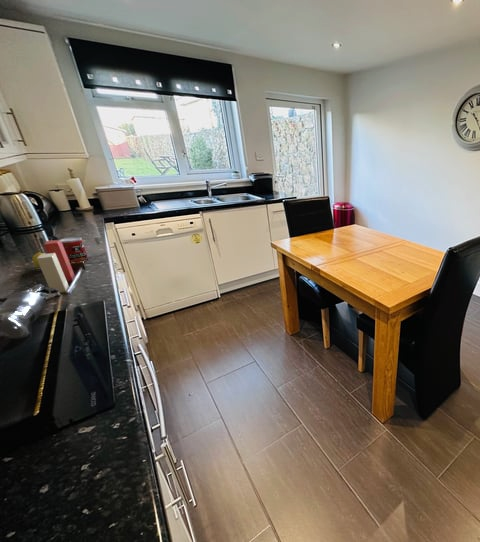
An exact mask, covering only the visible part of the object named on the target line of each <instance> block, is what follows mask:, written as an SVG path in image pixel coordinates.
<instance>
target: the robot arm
mask: <svg viewBox="0 0 480 542" xmlns="http://www.w3.org/2000/svg"><path fill="white" fill-rule="evenodd" d="M61 297H62V295H60V293H59V290H58V289H55V288H51V287H49V286H45V285H44V284H42V283H38V284H34V285H32V286H31V287H30V288H28V289H25V290H19V291H16V292H13V293H11V294H7V295H6V296H3V297H0V357H2V356H4V355H5V354H7V353H9V352H11V351H13V350H15V349H17V348H19V347H21V346H22V345H24V344H26V343H27V342H28V341H29V340H30V339H31V338H32V336H33V331H32V325H33V323H34V322H35V321H36V320H37V319H38V318H39V316H40V314H41V313H42V312H43V311H44V309H45V307H46V303H47V302H48V301H50V299H51V298H52V299H53V298H55V299H56V298H61Z"/></svg>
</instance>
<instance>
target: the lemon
mask: <svg viewBox="0 0 480 542" xmlns="http://www.w3.org/2000/svg"><path fill="white" fill-rule="evenodd" d="M41 254H45V253H44V252H37V253H35V254H34V255H33V256H32V264H33V265H34V266H35V267H36V268H39V269H41V268H40V265H39V263H38V261H37V258H38V257H39V256H40V255H41Z"/></svg>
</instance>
